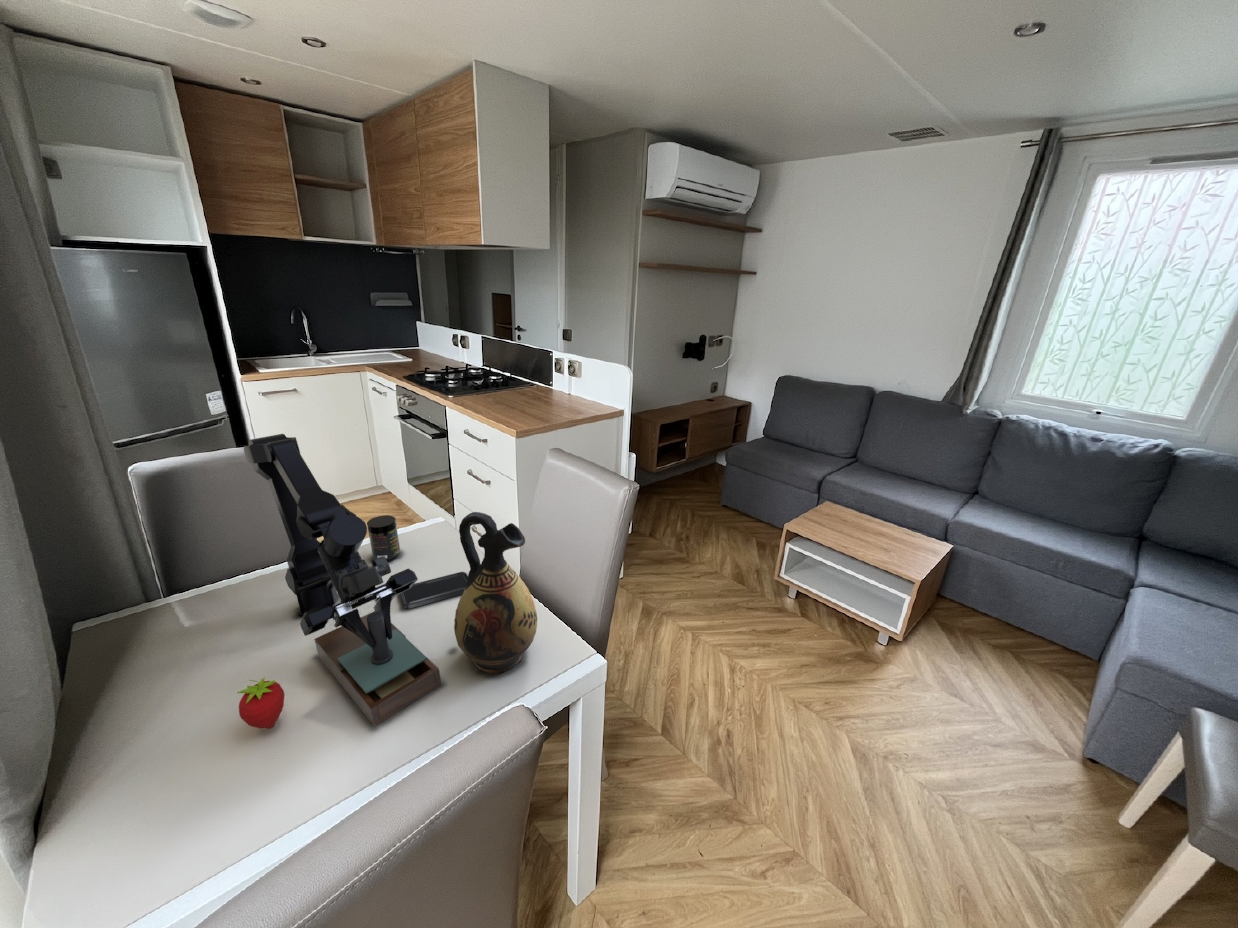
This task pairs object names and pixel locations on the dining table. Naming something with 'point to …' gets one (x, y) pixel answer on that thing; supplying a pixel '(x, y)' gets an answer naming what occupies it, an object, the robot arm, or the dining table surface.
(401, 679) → the sliding lid box
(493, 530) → the ceramic jug
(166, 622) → the dining table surface
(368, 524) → the supplement container
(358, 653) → the peg plate
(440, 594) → the phone
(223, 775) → the dining table surface
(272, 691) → the strawberry
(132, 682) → the dining table surface
